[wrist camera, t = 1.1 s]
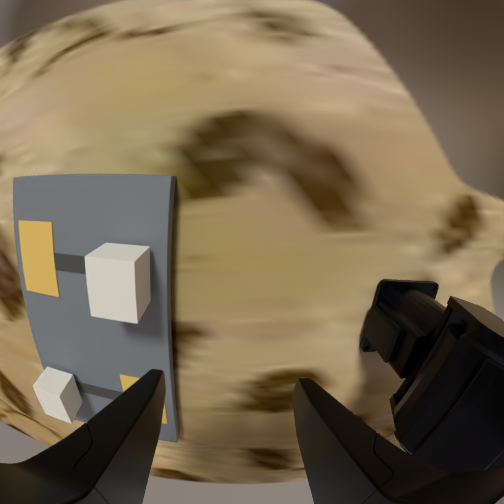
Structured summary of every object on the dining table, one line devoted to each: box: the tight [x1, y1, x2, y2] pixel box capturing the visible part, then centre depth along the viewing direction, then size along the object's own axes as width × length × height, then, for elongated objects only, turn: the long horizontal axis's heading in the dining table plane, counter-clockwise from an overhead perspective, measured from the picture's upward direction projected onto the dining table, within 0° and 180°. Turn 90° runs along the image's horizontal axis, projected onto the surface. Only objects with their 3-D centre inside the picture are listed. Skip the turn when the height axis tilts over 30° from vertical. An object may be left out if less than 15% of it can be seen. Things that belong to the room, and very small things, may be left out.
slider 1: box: [33, 367, 82, 423], centre depth 17 cm, size 3×4×3 cm
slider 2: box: [85, 243, 151, 324], centre depth 15 cm, size 3×4×3 cm
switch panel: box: [13, 174, 179, 442], centre depth 19 cm, size 13×24×2 cm, turn 174°
